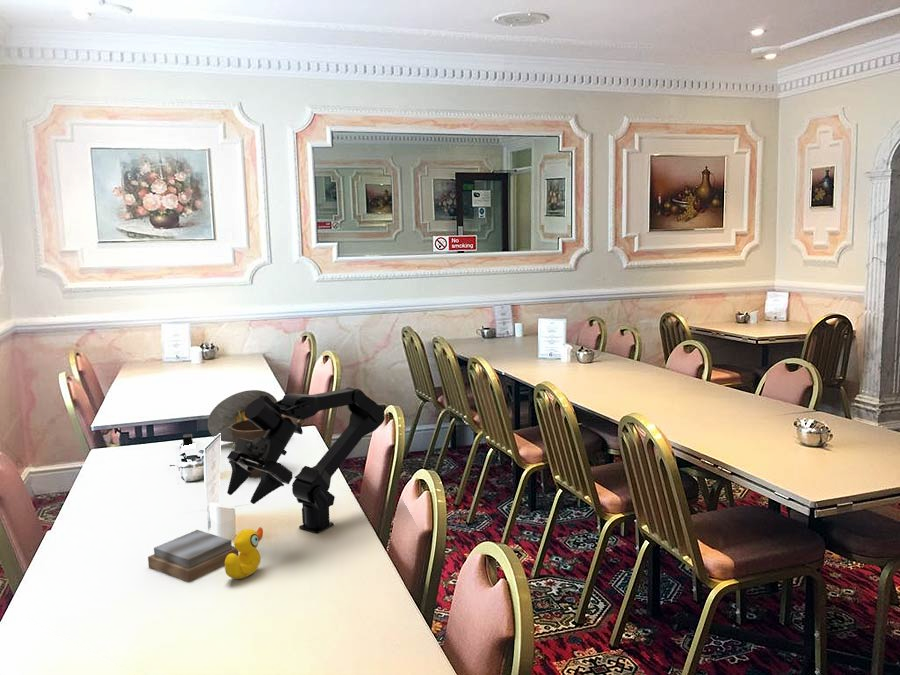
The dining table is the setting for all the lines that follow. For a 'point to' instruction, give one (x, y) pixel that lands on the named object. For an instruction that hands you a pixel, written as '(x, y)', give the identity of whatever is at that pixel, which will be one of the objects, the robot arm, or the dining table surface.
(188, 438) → the black block
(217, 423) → the grey brimmed hat
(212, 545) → the metal-topped wooden square
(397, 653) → the dining table surface
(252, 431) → the plant pot
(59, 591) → the dining table surface
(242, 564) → the duckling
